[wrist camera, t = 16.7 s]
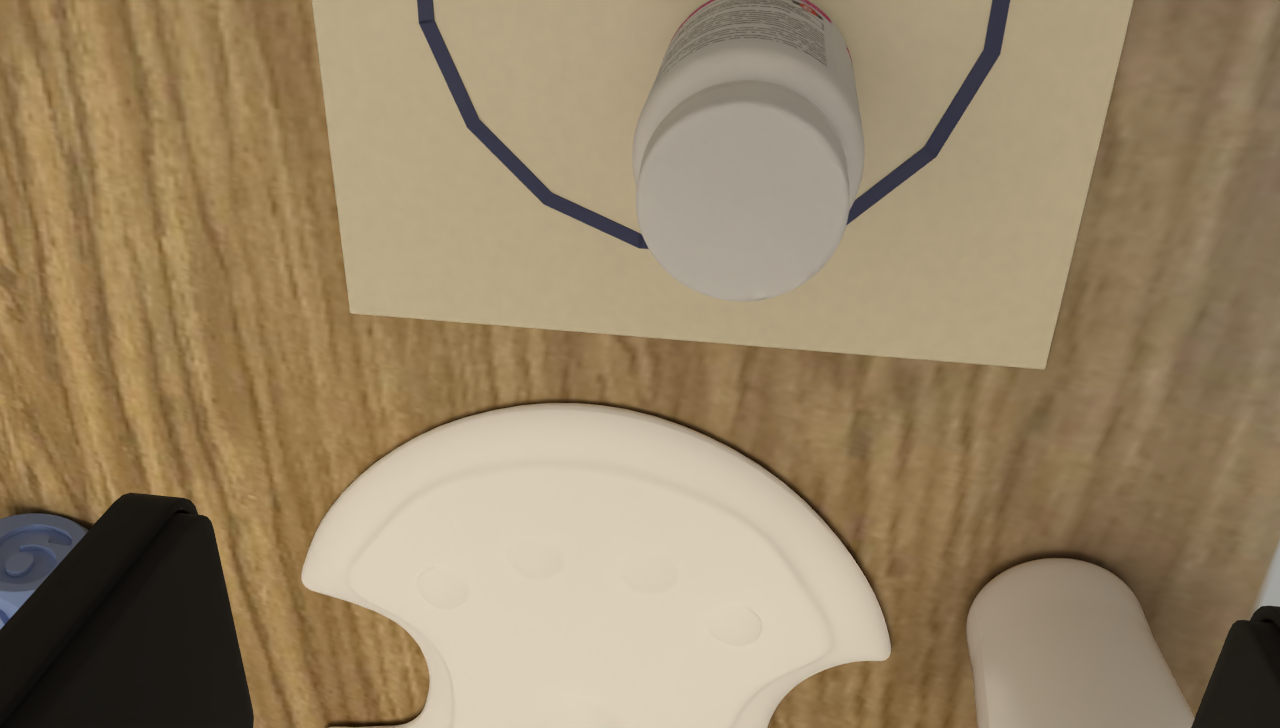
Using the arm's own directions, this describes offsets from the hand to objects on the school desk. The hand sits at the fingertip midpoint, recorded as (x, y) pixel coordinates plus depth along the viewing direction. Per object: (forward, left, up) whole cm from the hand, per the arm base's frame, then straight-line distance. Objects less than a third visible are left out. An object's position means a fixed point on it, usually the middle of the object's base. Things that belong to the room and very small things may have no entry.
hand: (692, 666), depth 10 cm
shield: (+22, -4, -20) cm, 31 cm away
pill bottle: (0, 0, -20) cm, 20 cm away
